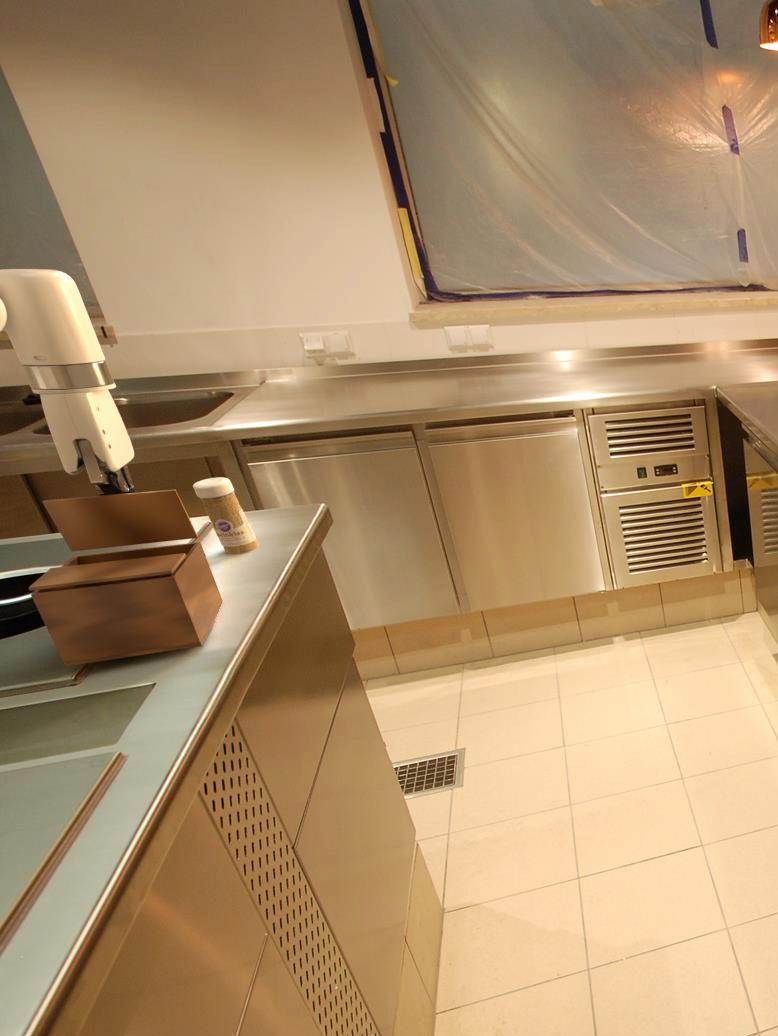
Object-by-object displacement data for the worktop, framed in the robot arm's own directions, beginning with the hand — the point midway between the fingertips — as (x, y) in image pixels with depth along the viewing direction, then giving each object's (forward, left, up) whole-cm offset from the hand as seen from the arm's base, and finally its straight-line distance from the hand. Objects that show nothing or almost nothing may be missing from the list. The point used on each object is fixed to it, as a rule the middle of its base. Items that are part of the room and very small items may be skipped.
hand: (129, 520), depth 111 cm
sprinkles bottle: (+7, +20, -13) cm, 24 cm away
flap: (0, -2, 0) cm, 2 cm away
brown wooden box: (0, -8, -13) cm, 16 cm away
